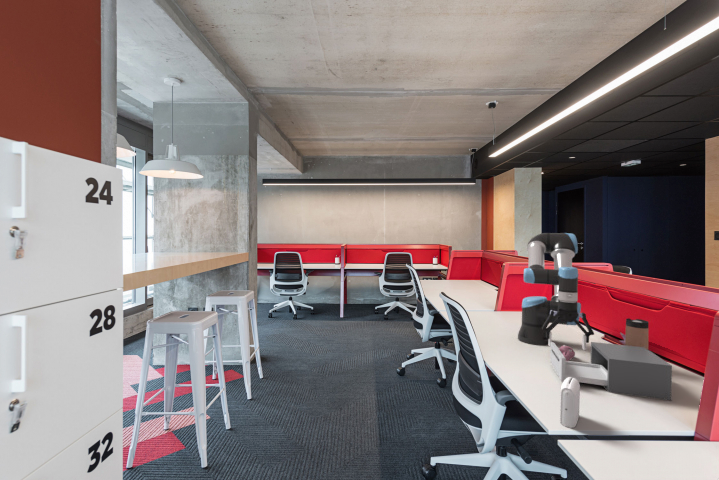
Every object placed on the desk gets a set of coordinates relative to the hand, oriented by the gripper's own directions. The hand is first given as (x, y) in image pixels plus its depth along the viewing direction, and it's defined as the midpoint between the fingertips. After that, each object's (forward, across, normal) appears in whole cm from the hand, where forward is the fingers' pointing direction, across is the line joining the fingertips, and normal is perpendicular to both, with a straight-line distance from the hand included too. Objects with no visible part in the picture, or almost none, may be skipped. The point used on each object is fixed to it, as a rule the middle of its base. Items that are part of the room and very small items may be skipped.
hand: (566, 348), depth 151 cm
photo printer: (+7, -12, -57) cm, 59 cm away
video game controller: (+5, -1, 0) cm, 5 cm away
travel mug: (+5, +26, +1) cm, 27 cm away
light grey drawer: (+4, 0, -21) cm, 22 cm away
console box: (+6, +15, -21) cm, 27 cm away
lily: (+5, +30, +17) cm, 35 cm away
